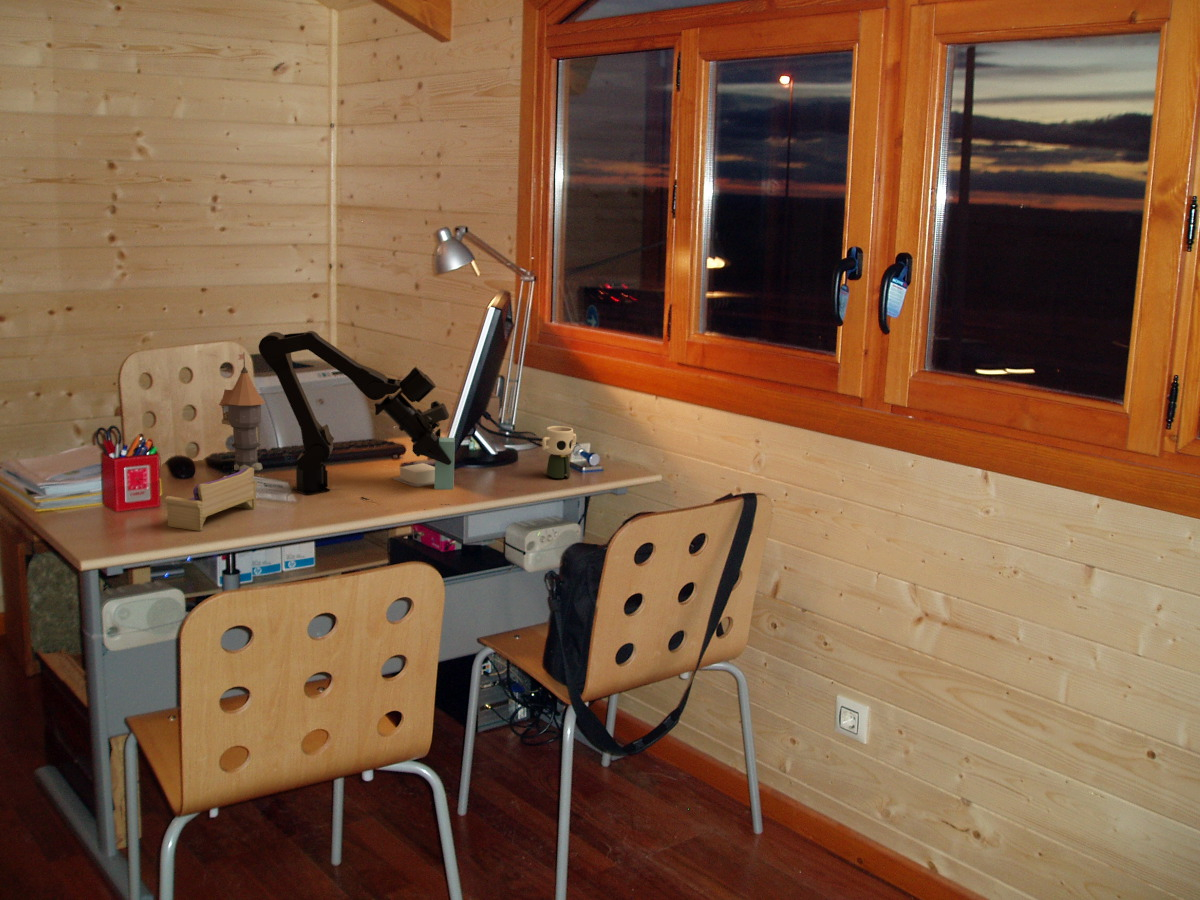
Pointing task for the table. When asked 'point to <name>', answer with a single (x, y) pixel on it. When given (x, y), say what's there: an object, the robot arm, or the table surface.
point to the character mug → (558, 450)
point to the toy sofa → (212, 500)
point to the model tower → (243, 419)
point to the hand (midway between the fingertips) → (450, 461)
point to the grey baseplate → (412, 483)
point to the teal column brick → (445, 466)
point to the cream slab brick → (418, 473)
